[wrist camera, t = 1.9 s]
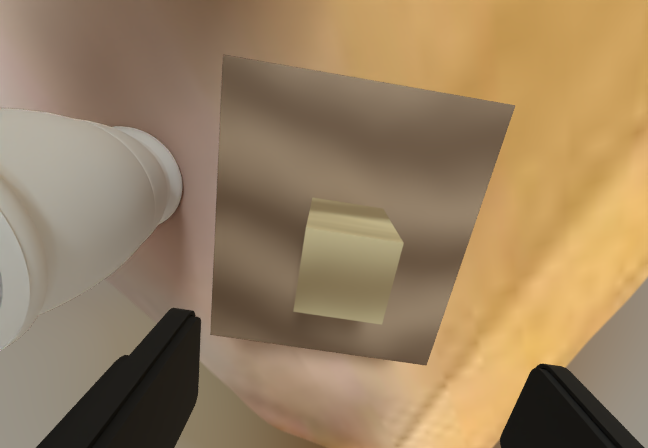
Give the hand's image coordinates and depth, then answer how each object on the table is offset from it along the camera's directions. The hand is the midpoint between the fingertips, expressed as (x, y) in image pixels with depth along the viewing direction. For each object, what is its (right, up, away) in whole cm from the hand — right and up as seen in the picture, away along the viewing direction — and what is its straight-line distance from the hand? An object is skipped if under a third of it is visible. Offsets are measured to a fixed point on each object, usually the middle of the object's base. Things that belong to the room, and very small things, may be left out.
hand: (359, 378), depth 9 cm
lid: (0, +4, +10) cm, 11 cm away
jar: (-17, +8, +17) cm, 25 cm away
